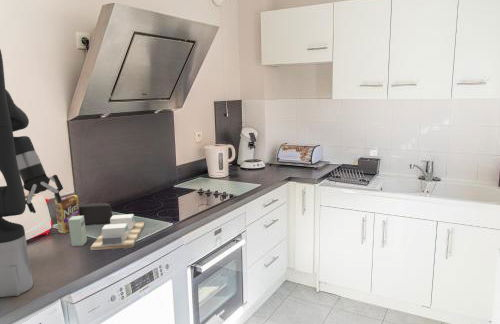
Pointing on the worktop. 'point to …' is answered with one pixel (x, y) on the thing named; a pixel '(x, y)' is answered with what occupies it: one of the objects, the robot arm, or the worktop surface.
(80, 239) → the block
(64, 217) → the candy box
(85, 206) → the dark grey rounded block
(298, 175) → the worktop surface
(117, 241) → the mounted blocks
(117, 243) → the beige flat plate
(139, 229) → the board
